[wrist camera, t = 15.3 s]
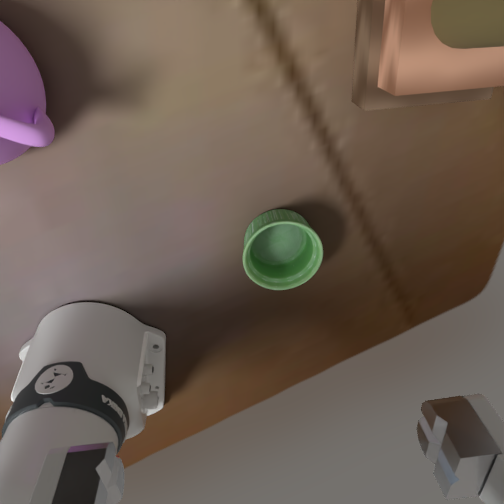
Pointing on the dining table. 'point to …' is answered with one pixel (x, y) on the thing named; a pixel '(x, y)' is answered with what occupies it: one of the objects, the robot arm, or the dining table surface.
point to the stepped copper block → (415, 60)
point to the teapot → (20, 100)
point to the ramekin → (281, 250)
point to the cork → (468, 23)
